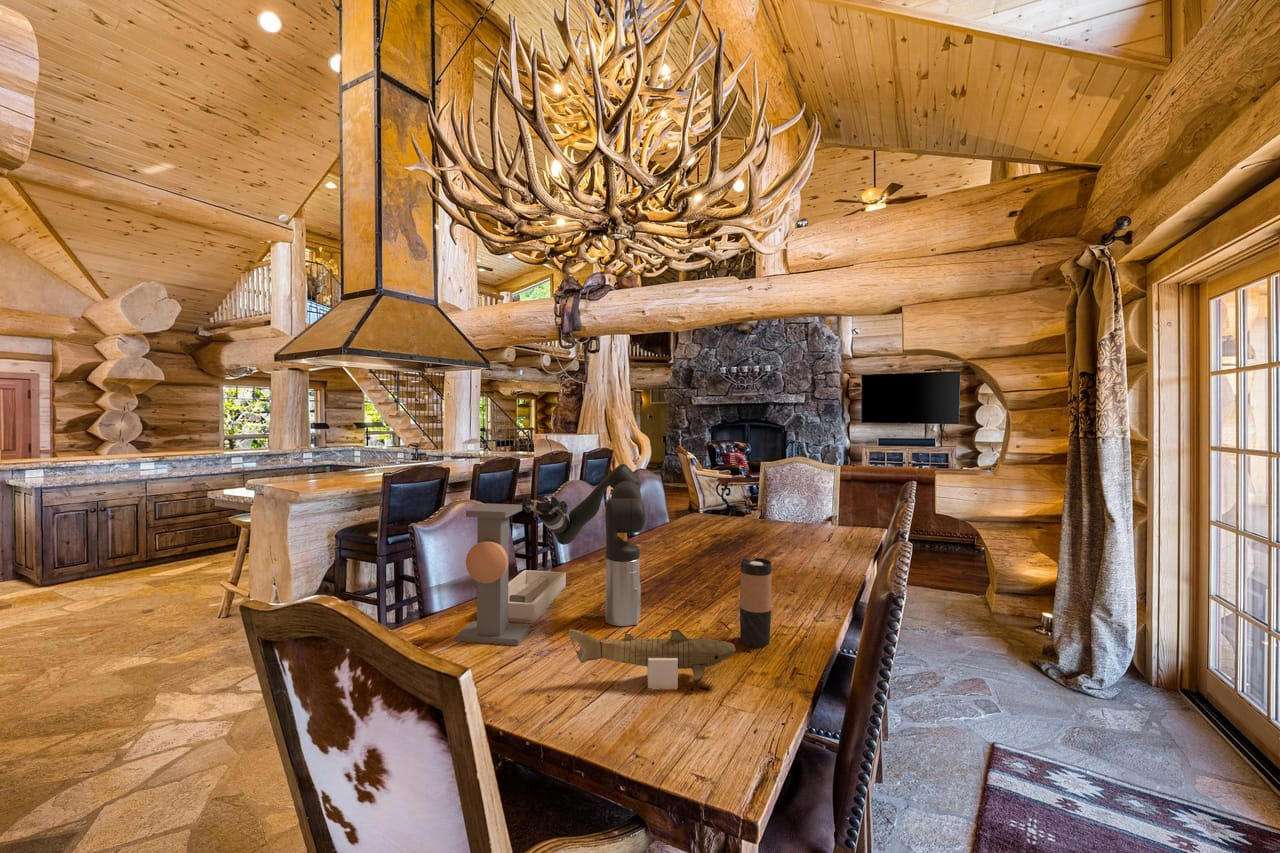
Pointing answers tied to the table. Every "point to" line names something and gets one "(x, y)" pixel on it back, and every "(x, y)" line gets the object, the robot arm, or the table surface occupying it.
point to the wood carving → (656, 654)
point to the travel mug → (755, 602)
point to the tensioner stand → (492, 577)
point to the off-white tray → (538, 604)
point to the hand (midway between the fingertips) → (539, 498)
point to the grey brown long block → (531, 590)
